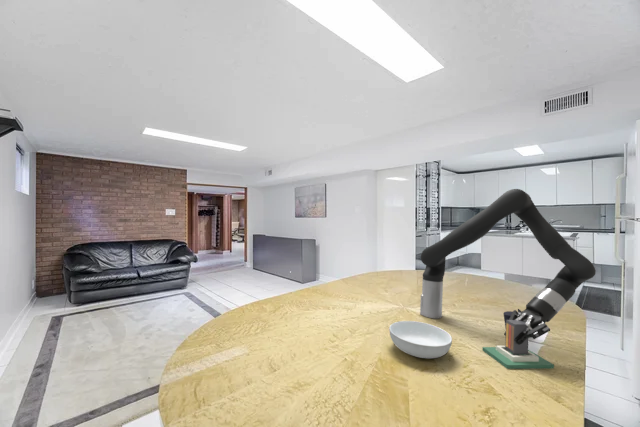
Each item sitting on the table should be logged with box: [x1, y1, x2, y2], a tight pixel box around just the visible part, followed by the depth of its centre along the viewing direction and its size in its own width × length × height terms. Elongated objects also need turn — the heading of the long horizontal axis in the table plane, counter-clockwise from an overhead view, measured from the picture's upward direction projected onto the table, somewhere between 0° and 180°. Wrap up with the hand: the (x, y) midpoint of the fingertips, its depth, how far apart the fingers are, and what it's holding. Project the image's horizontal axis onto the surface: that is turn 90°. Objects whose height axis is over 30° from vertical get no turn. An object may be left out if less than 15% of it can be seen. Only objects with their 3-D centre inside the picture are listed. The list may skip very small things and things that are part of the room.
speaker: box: [503, 308, 523, 329], centre depth 117 cm, size 8×6×10 cm
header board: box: [482, 345, 555, 370], centre depth 96 cm, size 16×12×3 cm
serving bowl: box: [388, 320, 453, 359], centre depth 99 cm, size 21×21×7 cm
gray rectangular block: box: [504, 320, 530, 354], centre depth 96 cm, size 5×4×10 cm
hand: (511, 339), depth 95 cm, fingers closed on gray rectangular block, 4 cm apart
